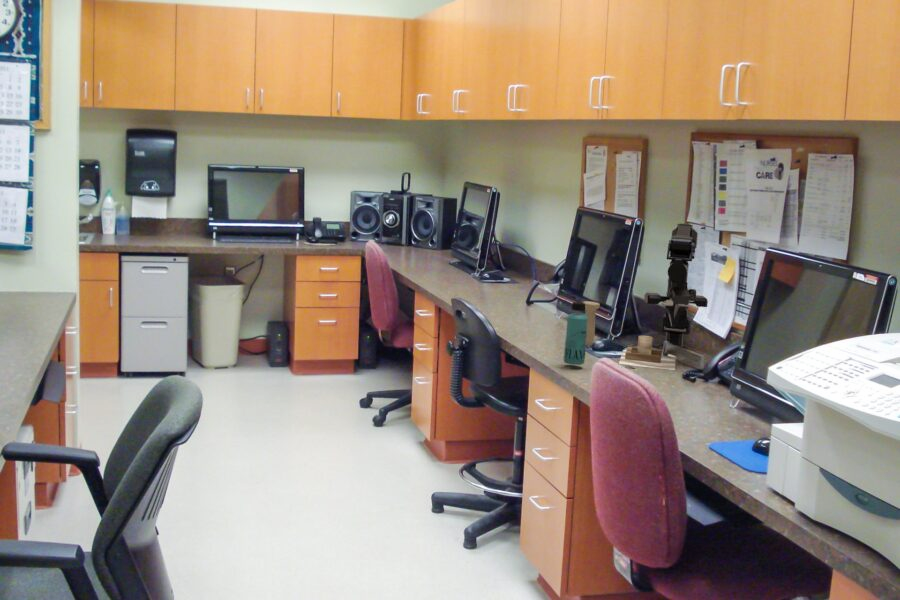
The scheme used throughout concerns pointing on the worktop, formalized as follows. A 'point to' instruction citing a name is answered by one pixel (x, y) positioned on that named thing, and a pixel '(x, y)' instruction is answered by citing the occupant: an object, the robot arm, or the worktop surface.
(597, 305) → the handle
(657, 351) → the cradle
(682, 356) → the bar
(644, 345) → the pivot pin
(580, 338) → the beverage bottle
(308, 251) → the worktop surface
